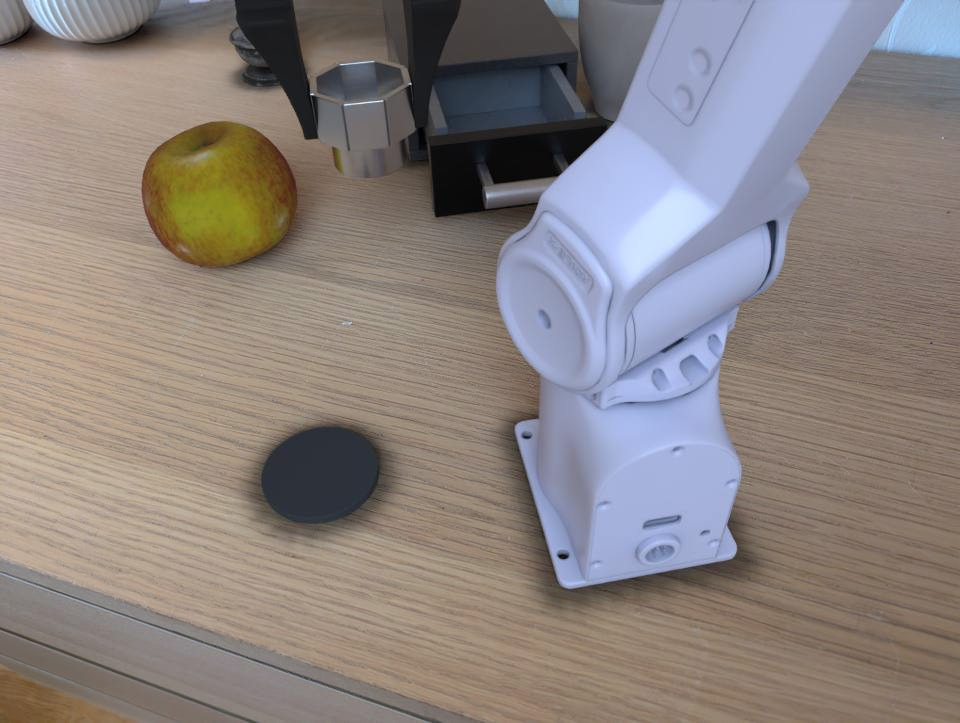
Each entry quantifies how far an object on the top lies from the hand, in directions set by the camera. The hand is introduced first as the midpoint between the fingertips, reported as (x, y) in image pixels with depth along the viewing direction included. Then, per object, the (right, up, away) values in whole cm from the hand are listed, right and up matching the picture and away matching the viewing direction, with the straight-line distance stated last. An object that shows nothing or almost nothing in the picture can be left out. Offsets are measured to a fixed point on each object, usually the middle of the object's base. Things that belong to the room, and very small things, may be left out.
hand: (366, 124), depth 44 cm
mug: (+18, +8, +22) cm, 30 cm away
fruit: (-10, -5, +10) cm, 15 cm away
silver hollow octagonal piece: (0, -2, +2) cm, 2 cm away
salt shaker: (-13, +13, +29) cm, 34 cm away
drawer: (+8, 0, +14) cm, 16 cm away
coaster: (-2, -18, -4) cm, 19 cm away
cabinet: (+6, +8, +23) cm, 25 cm away
